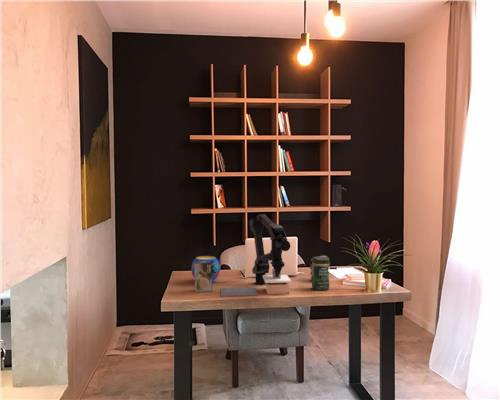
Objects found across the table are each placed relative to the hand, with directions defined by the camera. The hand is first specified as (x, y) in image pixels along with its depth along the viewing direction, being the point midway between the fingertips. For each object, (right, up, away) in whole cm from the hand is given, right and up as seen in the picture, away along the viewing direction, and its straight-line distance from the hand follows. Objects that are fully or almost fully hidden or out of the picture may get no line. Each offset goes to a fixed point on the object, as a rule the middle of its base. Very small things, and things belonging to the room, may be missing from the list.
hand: (276, 276), depth 234 cm
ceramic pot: (-42, -8, +23) cm, 48 cm away
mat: (-21, -8, -1) cm, 22 cm away
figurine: (+28, -7, +25) cm, 39 cm away
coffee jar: (+25, -8, +5) cm, 27 cm away
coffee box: (-41, -9, +3) cm, 42 cm away
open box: (0, -8, 0) cm, 8 cm away
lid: (0, -2, 0) cm, 2 cm away
